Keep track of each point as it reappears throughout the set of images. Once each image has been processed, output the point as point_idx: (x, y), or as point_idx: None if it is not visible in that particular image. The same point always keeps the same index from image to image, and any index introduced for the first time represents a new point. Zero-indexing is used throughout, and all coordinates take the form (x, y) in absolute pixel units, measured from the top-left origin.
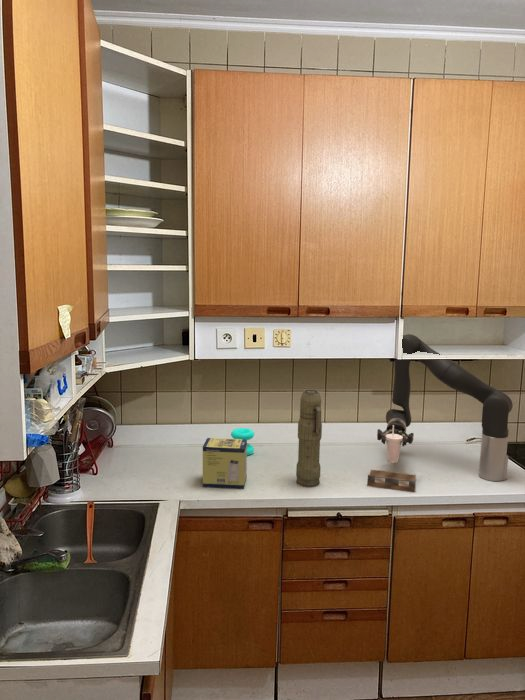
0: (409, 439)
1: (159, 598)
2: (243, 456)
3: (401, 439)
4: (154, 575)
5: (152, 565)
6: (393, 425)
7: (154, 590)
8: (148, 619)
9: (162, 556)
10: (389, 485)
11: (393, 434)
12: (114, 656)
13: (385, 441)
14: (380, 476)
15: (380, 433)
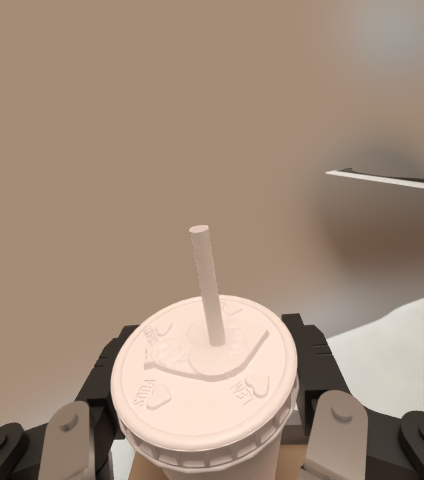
0: (33, 433)
1: (363, 178)
2: None
3: (142, 335)
4: (393, 181)
5: (409, 182)
6: (198, 228)
7: (374, 178)
8: (350, 175)
9: (418, 185)
10: None
11: (208, 323)
12: (340, 169)
13: (300, 417)
14: (287, 421)
15: (422, 450)
